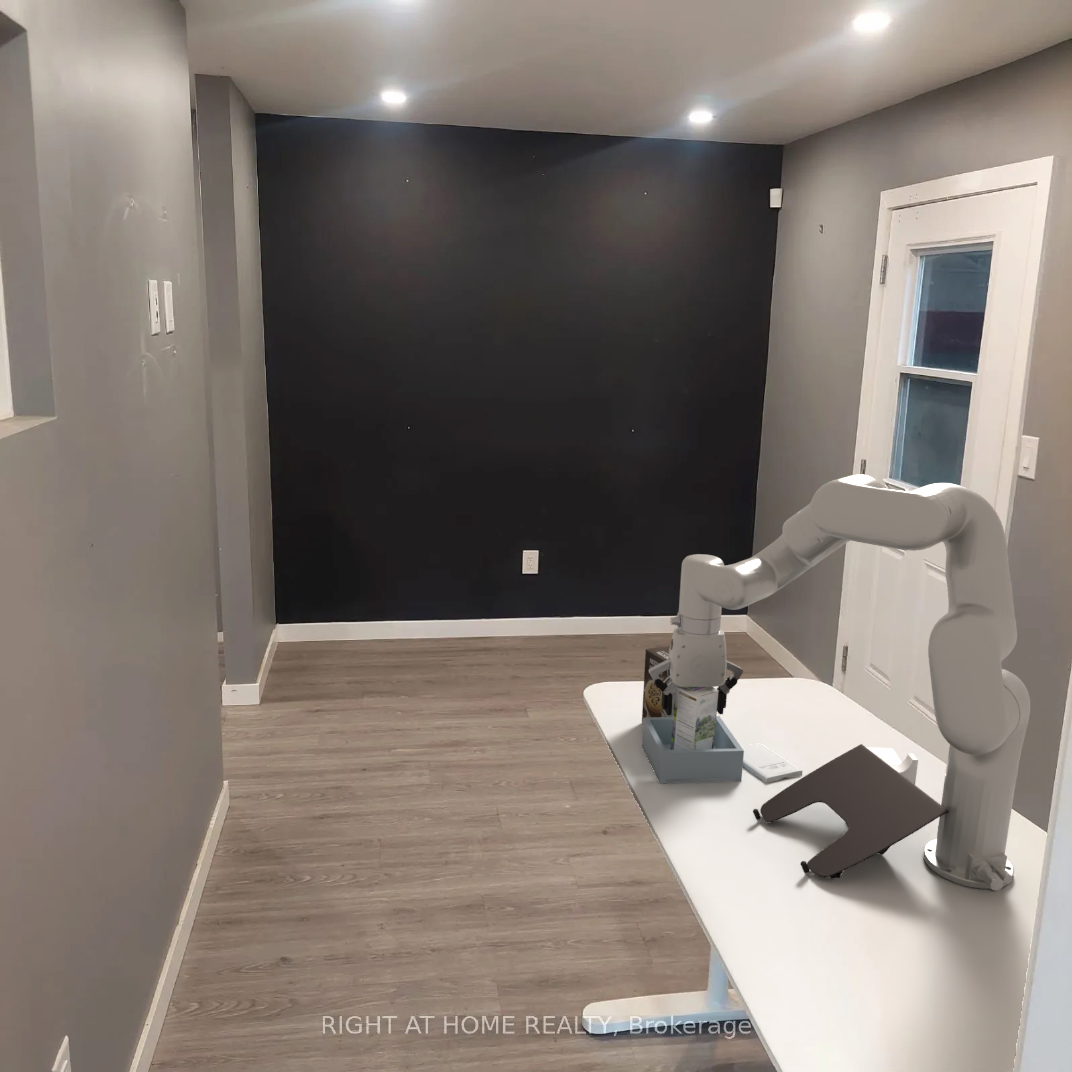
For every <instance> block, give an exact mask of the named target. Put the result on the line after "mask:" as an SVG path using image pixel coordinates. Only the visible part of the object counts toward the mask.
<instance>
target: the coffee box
mask: <svg viewBox="0 0 1072 1072" xmlns="http://www.w3.org/2000/svg"><path fill="white" fill-rule="evenodd" d="M669 649H670V645H669V646H657V647H649V648H646V649H645V657H644V676H643V692H642V693H643V695H642V710H641V711H642V713H641V723H642V724H643V718H648V717H673V710H674V697H675V688H674V689H673V690H672V691H671V694H672V696H673V700H672V714H671V715H667V714H666V712H665V710H664V709H662V705H661V704H662V691H661V690H660V689H659V688H658V687H657V686H656V685H655V683H654V681H653V679H652V677H651V675H650V673H649V669H650V668H652V667H654V666H656V665H658V664H660V663H662V662H664V661H666V660H668V656H669ZM667 677H668V675H667V670H666V671H664V672H662V673H660V674H659V678H660V679H661V680H662V681H663V682H664V681H665V680H666V678H667ZM676 687H677V686H676Z"/></svg>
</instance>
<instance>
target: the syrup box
mask: <svg viewBox="0 0 1072 1072" xmlns="http://www.w3.org/2000/svg"><path fill="white" fill-rule="evenodd" d="M718 692H719V691H718V690H717V688H715V687H675V697H674V710H673V723H672V736H671V748H670V750H692V749H713V748H714V736H715V726H716V716H718V712H717V703H718Z"/></svg>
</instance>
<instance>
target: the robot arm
mask: <svg viewBox="0 0 1072 1072" xmlns="http://www.w3.org/2000/svg"><path fill="white" fill-rule="evenodd" d="M781 529H782V533H781V535H779V537H778V538H776V539H775V540H774V541H773V542H771V543H770V544H768V545H767V546H766V547H765V548H763V549H762V550H760V551H759V552H758V553H756V554H755V555H752V556H750V557H749V558H746V559H744V560H740V561H738V562H736V563H732V564H728V565H725V563H724V561H723V560H722V559H721V558H720V557H718V556H715V555H711V554H700V553H697V554H690V555H687V556H686V557H685V558H684V559H683V560H682V562H681V571H680V588H679V600H678V601H679V603H678V604H679V606H678V612H677V614H676V616H674V617H670V622H669V623H670V625H673V626H674V625H675V626H677V627H675V628H674V630H673V633H672V635H671V640H670V644H669V646H670V649H669V656H668V660H666V661H664V662H662V663H660V664H658V665H656V666H654V667H652V668H650V669H649V673H650V675H651V677H652V679H653V681H654V683H655V685H656V686H657V687H658V688H659V689H660V690H661V691H662V704H661V705H662V709H664V710H665V712H666V714H667V715H671V714H672V700H673V696H672V694H671V691H672V690H673V689H674V688H675V687H676V686H677V687H714V688H715V687H716V689H717V690H718V691H719V692H718V703H717V714H719V715H724V709H726V707H727V699H728V698H727V697H728V695H729V693H730V690H732V689H733V687H735V686H736V685H737V684H738V680H740V678H741V676H742V674H743V673H744V670H743V669H742V667H740V666H739V665H737V664H735V663H733V662H731V661H729V660H727V642H726V635H725V632H724V630H722V629H721V622H722V621H721V620H722V608H723V609H726V610H732V611H733V610H734V611H735V610H741V609H743V608H746V607H749V606H750V605H752V604H754V603H756V602H758V601H761V600H764V599H767V598H768V597H770V596H772V595H774V594H775V593H776V592H778V591H779V590H781V589H782V588H784V587H785V586H787V585H788V584H790V583H791V582H792V581H794V580H796V579H797V578H799V577H800V576H802V575H803V574H805V572H807V571H808V570H810V569H811V568H814V567H815V566H816V565H817V564H819V563H820V562H822V561H823V560H824V559H825V558H827V557H829V556H830V555H831V554H833V553H834V552H835V551H837V550H838V549H840V548H841V547H843V546H844V545H845V544H848V542H850V541H851V542H857V543H861V544H866V545H874V546H878V547H884V548H890V549H894V550H895V549H896V550H902V551H903V550H904V551H914V552H915V551H921V550H922V551H923V550H926V549H930V548H932V547H934V546H936V545H938V544H940V543H943V544H944V547H945V551H946V554H945V555H946V557H945V558H946V559H945V571H944V572H945V581H946V588H947V598H948V602H947V603H948V607H947V608H948V609H947V610H948V612H947V613H946V614H944V615H943V616H942V617H940V618H939V619H938V620H937V622H936V623H935V624H934V625H933V628H932V630H931V631H930V635H929V639H928V647H927V648H928V649H927V650H928V651H927V653H928V654H927V655H928V665H929V674H930V683H931V690H932V691H931V692H932V701H933V708H934V709H933V710H934V717H935V721H936V725H937V728H938V730H939V733H940V734H941V735H942V737H943V738H944V740H945V741H946V742H947V743H948V744H949V748H948V754H947V761H946V767H945V774H944V782H943V787H942V788H943V790H942V795H941V796H942V797H941V804H940V805H941V806H943V807H944V808H945V809H947V810H948V811H949V812H948V813H947V814H943V815H942V816H940V817H938V819H939V820H938V825H937V827H938V828H937V834H936V839H933V840H930V841H928V843H926V845H925V846H924V849H923V859H924V862H925V863H926V865H927V866H928V867H929V868H930V869H931V870H932V871H933V872H935V873H936V874H938V875H939V876H940V877H943V878H944V879H946V880H949V881H951V882H953V883H956V884H959V885H961V886H965V887H969V888H974V889H975V888H976V889H980V890H981V889H983V890H989V889H990V890H992V891H999V890H1001V889H1002V888H1003V887H1006V886H1007V885H1009V884H1010V883H1012V882H1013V879H1014V873H1015V869H1014V866H1013V864H1012V862H1011V861H1010V860H1009V859H1008V856H1007V854H1006V848H1007V841H1008V835H1009V829H1010V821H1011V816H1012V809H1013V803H1014V798H1015V797H1014V796H1015V789H1016V782H1017V778H1018V771H1019V764H1020V759H1021V754H1022V750H1023V746H1024V740H1025V737H1026V732H1027V729H1028V725H1029V721H1030V714H1031V698H1030V693H1029V691H1028V689H1027V687H1026V685H1025V684H1024V682H1023V681H1022V680H1021V678H1019V676H1017V675H1016V674H1014V673H1012V672H1010V671H1009V670H1007V669H1005V668H1004V669H1003V665H1002V662H1003V661H1004V659H1006V658H1007V657H1008V656H1009V655H1010V653H1012V651H1013V650H1014V648H1015V647H1016V644H1017V640H1018V629H1017V620H1016V616H1015V615H1016V614H1015V613H1016V612H1015V605H1014V596H1013V595H1014V593H1013V585H1012V580H1011V573H1010V565H1009V555H1008V553H1009V552H1008V545H1007V539H1006V535H1005V534H1006V533H1005V530H1004V527H1003V524H1002V521H1001V519H1000V517H999V515H998V513H997V511H996V509H995V508H994V507H993V506H992V505H991V503H989V502H988V500H987V499H986V498H984V497H983V496H982V495H981V494H978V492H975V491H974V490H972V489H969V488H968V487H964V486H962V485H959V484H954V483H951V482H937V483H931V484H927V485H924V486H921V487H918V488H916V489H912V490H910V491H906V490H905V491H904V490H896V489H891V488H890V489H889V488H885V487H884V486H883V485H882V483H881V482H880V481H879V480H878V479H876V478H874V477H872V476H870V475H867V474H860V473H859V474H851V475H848V476H844V477H841V478H837V479H833V480H831V481H828V482H826V483H824V484H823V485H821V486H820V487H819V488H818V489H817V490H816V491H815V493H814V494H813V497H812V498H811V501H810V503H809V504H807V505H806V506H804V507H803V508H802V509H800V510H799V511H797V512H796V513H794V514H793V515H792V516H790V517H789V518H788V519H786V521H784V523H783V525H782V528H781ZM666 670H667V675H668V677H667V678H666V680H665V681H664V682H663V681H662V680H661V679H660V678H659V674H660V673H662V672H664V671H666ZM727 671H730V672H731V674H730V676H729V677H728V678H727V673H728V672H727Z"/></svg>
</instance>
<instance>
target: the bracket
mask: <svg viewBox="0 0 1072 1072" xmlns="http://www.w3.org/2000/svg"><path fill="white" fill-rule="evenodd" d="M855 747H856V746H853V748H855ZM865 747H866V748H867V749H869V750H870V751H871V752H873V753H874V754H875V755H877V756H878V757H879V758H880V759H882V760H883V761H884V762H886V763H887V764H888V765H890V766H891V767H892V768H893V769H895V770H896V771H897V772H899V773H900V774H901V775H903V776H904V777H905V778H906V779H908V780H909V781H910V782H912V783H913V784H914V785H915V786H916V781H917V774H918V766H919V765H918V764H919V759H918V758H917V757H916V755H915V754H914V752H913V753H912V752H908V753H907V755H906V757H905V759H904V760H903V761H902V760H901V759H900V757H899V755H898V754H897V752H896V751H895V750H894V749H893V748H892V747H891V748H890V747H869V746H868V747H867V746H865Z"/></svg>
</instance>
